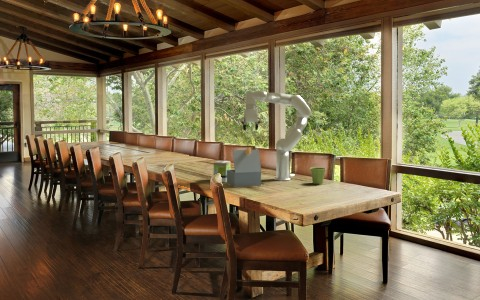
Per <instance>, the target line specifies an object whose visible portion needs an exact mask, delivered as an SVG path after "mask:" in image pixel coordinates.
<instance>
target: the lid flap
mask: <svg viewBox="0 0 480 300" xmlns="http://www.w3.org/2000/svg"><path fill="white" fill-rule="evenodd" d="M232 157H233V159H232V160H233V168H234V169H233V170H235V173H245V172H261V173H262V166H261V159H260V158H261V157H260V150H259V149H252V148H251V147H248V148H246V149H234V150H232Z"/></svg>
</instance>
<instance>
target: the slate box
mask: <svg viewBox="0 0 480 300" xmlns="http://www.w3.org/2000/svg"><path fill="white" fill-rule="evenodd" d="M226 184H227V185H228V184H229V186H231V187H233V188H245V187H246V188H247V187H248V188H249V187H259V186H260V187H261V186H262V171H261V172H245V173H235V169H231V170H227V182H226Z"/></svg>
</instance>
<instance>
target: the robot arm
mask: <svg viewBox="0 0 480 300" xmlns="http://www.w3.org/2000/svg"><path fill="white" fill-rule="evenodd" d="M257 101H258V102H263V103H264V102H265V103H271V104H274V105H275V104H276V105H282V106H287V107H294V108H295V109H296V112H295V113H296V121H295V122H293V124H292V126H290V128H288V130H287V131H286V134H285V136H286V137H284V138H279V139H278V140H277V141H276V143H275V144H276V145H275V149H276V167H275V168H276V171H275V173H276V176H275V177H274V178H273V179H274V180H275V181H290V180H291V177H295V174H294V173H290V152H291V150H292V151H293V149H294V148H295V146H296V145H297V144H298V143H299V142H300V141H301V139H302V136H303V135H302V132H303V131H304V129H305V128H306V126H307V124H308V118H309V117H311V115H312V110H311V108H310V107H309V105H308V104H307V103H306V101H305V100H304V99H303V97H301V95H299V94H291V93H289V94H288V93H284V92H267V91H264V90H262V89H260V90H246V92H245V109H244V110H243V111H244V112H243V116H242V117H241V118H240V119H239V121H240V123H241V124H242V130H243V131H246V130H247V125H246V124H247V123H255V124H254V126H255V127H254V129H255V131H258V130H259V124H260V123H261V122H262V118H260V117H258V110H257V108H258V105H257Z"/></svg>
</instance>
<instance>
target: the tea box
mask: <svg viewBox="0 0 480 300" xmlns="http://www.w3.org/2000/svg"><path fill="white" fill-rule="evenodd" d="M231 163H232V162H231V161H230V160H216V161H214V162H213V174H212V175H215V174H217V173H220V174H221V177H222V182H221V183H227V170H232V169H231V165H232V164H231Z"/></svg>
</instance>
